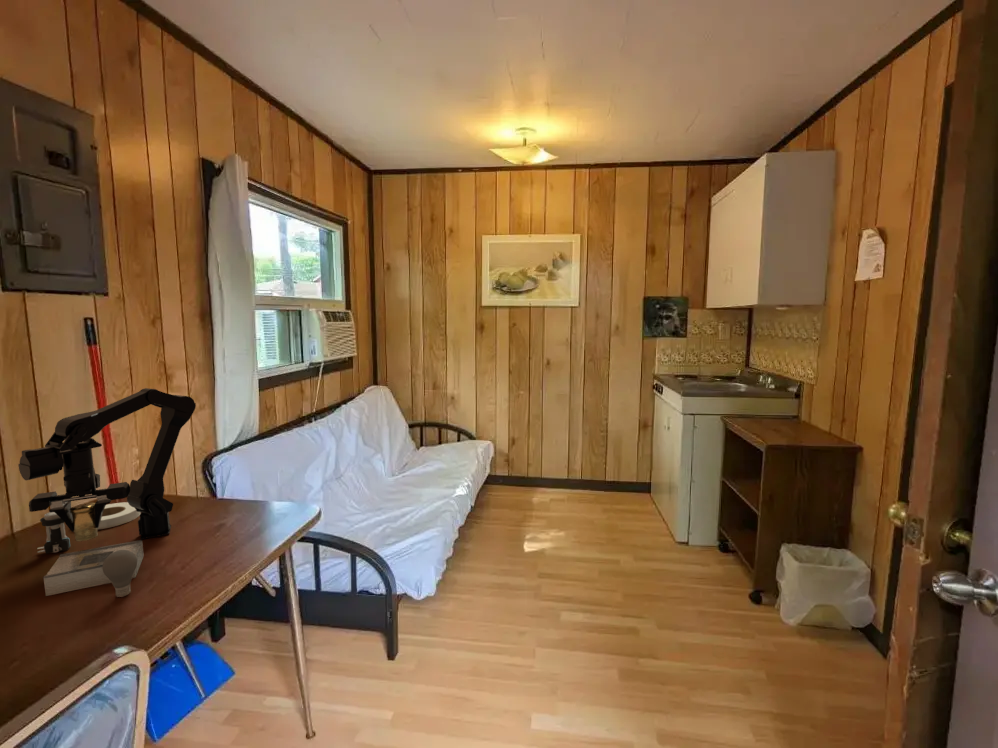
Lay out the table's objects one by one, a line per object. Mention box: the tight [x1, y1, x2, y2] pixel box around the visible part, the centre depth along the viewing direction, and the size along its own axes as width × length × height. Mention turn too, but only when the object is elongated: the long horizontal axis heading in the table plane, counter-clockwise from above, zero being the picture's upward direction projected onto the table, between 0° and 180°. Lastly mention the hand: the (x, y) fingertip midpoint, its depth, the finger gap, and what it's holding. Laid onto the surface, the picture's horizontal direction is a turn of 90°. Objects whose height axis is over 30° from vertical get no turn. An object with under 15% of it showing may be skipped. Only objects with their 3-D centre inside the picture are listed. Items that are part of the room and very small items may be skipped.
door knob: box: [70, 502, 99, 542], centre depth 127 cm, size 5×5×8 cm
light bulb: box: [102, 550, 137, 598], centre depth 110 cm, size 6×6×10 cm
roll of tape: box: [97, 501, 141, 530], centre depth 152 cm, size 16×15×3 cm
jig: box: [43, 539, 145, 597], centre depth 119 cm, size 16×12×4 cm
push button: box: [36, 512, 71, 554], centre depth 131 cm, size 7×5×10 cm
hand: (85, 529), depth 127 cm, fingers closed on door knob, 4 cm apart
